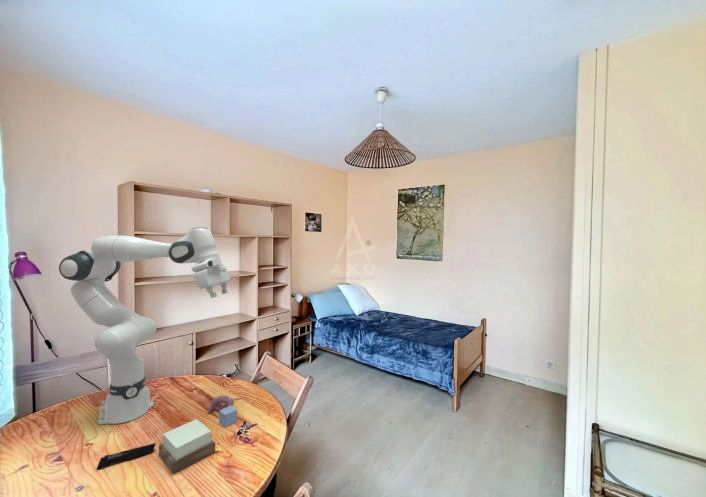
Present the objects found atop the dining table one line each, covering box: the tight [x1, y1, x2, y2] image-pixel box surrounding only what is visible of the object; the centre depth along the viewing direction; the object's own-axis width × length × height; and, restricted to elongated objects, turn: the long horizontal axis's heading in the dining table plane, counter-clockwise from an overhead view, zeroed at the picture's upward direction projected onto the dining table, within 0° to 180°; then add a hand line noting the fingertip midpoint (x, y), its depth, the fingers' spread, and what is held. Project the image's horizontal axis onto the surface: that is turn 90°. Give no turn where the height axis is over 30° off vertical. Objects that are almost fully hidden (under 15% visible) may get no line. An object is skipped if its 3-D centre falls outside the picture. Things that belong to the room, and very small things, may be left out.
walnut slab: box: [158, 438, 216, 475], centre depth 99 cm, size 13×13×4 cm
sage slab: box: [162, 418, 212, 461], centre depth 99 cm, size 11×11×4 cm
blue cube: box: [218, 406, 238, 428], centre depth 118 cm, size 5×5×5 cm
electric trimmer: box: [95, 442, 157, 470], centre depth 97 cm, size 4×16×3 cm, turn 121°
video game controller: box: [207, 395, 235, 414], centre depth 126 cm, size 10×5×7 cm, turn 84°
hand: (219, 295), depth 122 cm, fingers open, 8 cm apart
